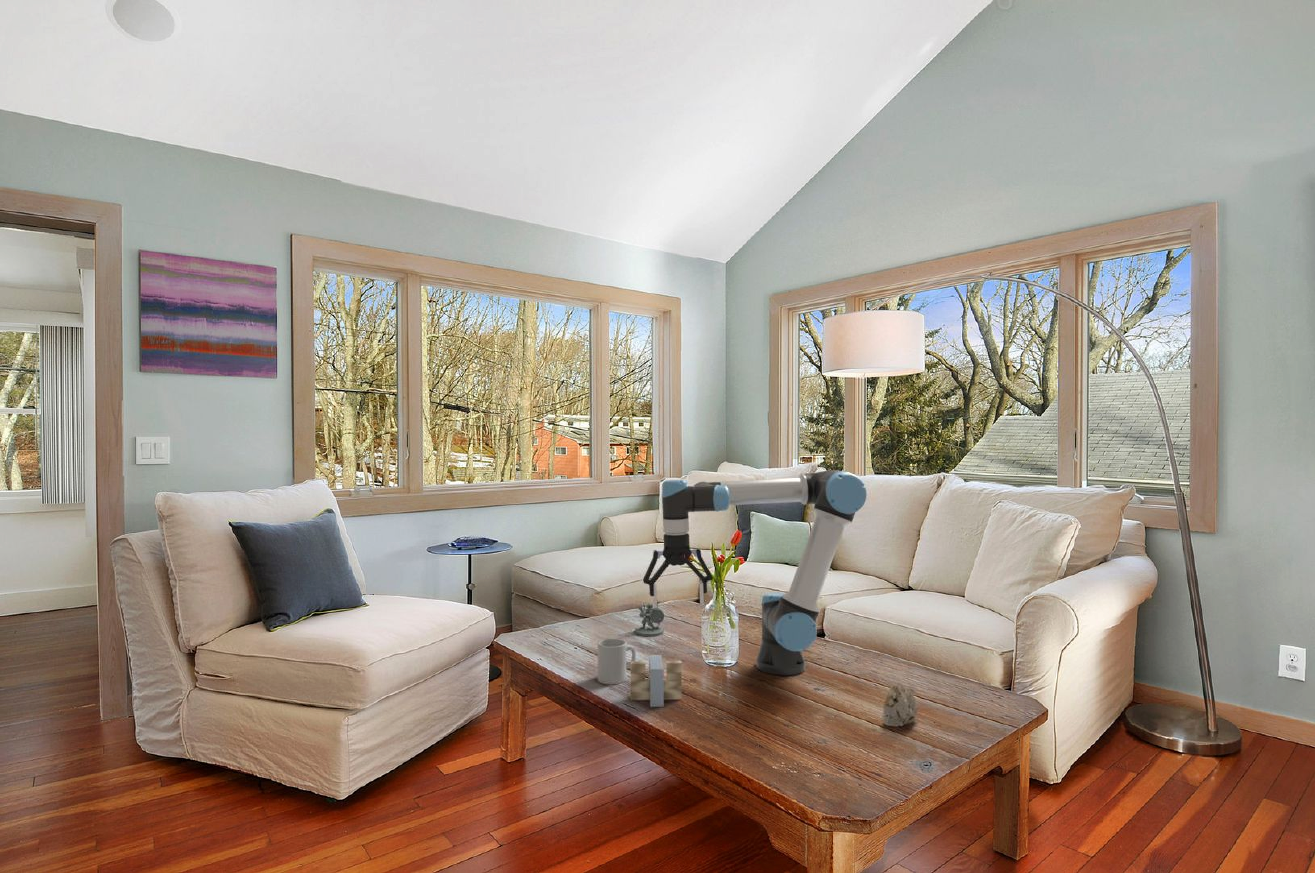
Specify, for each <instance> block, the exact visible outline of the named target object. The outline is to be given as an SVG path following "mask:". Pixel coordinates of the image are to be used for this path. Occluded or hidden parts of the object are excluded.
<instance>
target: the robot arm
mask: <svg viewBox="0 0 1315 873" xmlns="http://www.w3.org/2000/svg"><path fill="white" fill-rule="evenodd" d="M866 500H867V489H866V486H865V483H864V482H863V480H862V479H861V478H860V477H858V476H857V475H856V474H854V473H851V472H848V471H842V470H835V469H830V470H823V471H819V472H817V471H816V472H812V473H800V475H799V476H798V477H781V478H766V479H765V478H763V479H747V480H745V479H743V480H728V481H710V482H707V481H699V482H696V483H695V484H694V485H692V486H691V485H689V484H688V481H687V480H686V479H668V480H665V481H663V482H662V485H661V505H662V527H663V528H662V529H663V533H664V534H663V550H662V551H661V550H657V549H654V550H653V552H652V558H651V561H650V564H649V565H648V567H647V569H646V572H645V574H644V576H643V579H642V581H643V582H642V583H643V584H645V585H648V586H649V587H648V588H649V596H650V597H653V601H654V602H653V608H657V599H658V596H657V595H658V593H657V591H658V590H657V583H656V582H657V581H658V579H659V578H660V577H661V576H662V574H663V573H664V572H665V570H666V569H667V568H668V567H670V566H669V565H671V566H672V567H674V566H684V565H687V567H688V568H690V569H691V571H693V573H694V574H695V575H696V576H697V577H698V578H699V579H700V580H701V581H698V584H699V585H698V586H699V604H700V606H701V607H704V606H705V603H704V602H705V601H704V600H705V599H704V594H707V592H708V582H710V581H713V580H714V577H713V575H712V574H711V572H710V570H709V568H708V566H707V564H706V562H705V561H704V559H703V556H702V551H701V549H700V548H699V547H696V548H695V549H691V546H690V533H689V532H690V521H689V520H690V519H689V518H690V516H689V513H696V512H697V513H698V512H699V513H700V512H702V513H703V512H720V511H721V512H722V511H723V512H724V511H727V510H728V509H730V506H741V505H742V506H743V505H759V504H776V503H777V504H778V503H779V504H781V503H797V502H798V503H799V502H800V503H801V504H802V505H814V506H813V511H814V513H815V519H814V521H813V524H812V528H811V530H810V532H809V536H808V537H807V541H806V544H805V546H804V550H802V551H803V552H802V555H801V557H800V560H799V563H798V565H797V568H796V571H795V574H794V576H793V580H792V582H791V584H790V587H789V590H788V591H787V592H786V593H785V592H783V593H782V592H781V593H780V592H778V593H777V592H772V593H765V594H763V596H762V599H761V603H760V604H761V643H760V647H759V649H758V653H757V655H756V660H755V661H756V664H755V665H756V669H758V670H759V671H761V672H763V673H766V674H770V675H777V676H793V675H799V674H801V673H803V672H805V671H806V660H805V658H804V654H803V650H804V651H805V650H806V649H809V648H810V647H811V646H812V645H813V644H814V642H815V641H816V639H817V635H818V627H817V624H816V623H817V620H818V617H819V614H820V611H821V610H820V608H819V606H818V600H819V598H820V595H821V593H822V589H823V587H824V584H825V582H826V579H827V576H828V573H829V570H830V568H831V565H832V562H833V559H834V557H835V553H836V551H837V549H838V546H839V543H840V540H841V538H842V534H843V532H844V529H845V527H846V526H848V525H850V524H852V523H853V520H854V518H855V515H856V513H857V512H858V511H860V509H862V508H863V507H864V506H865V503H866ZM692 554H693V556H694V557H696V558H697V561H698V562H699V564H700V566H701V567H702V569H703V572H704V573H705V576H704V575H703V573H702V572H700V570H699V569H698V568H697V567H696V565H694V564H693V563H692V561H691V560H690V559H689V558H691V556H692ZM684 555H685V558H684ZM661 556H663V557H664V559H665V560H664V561H663V562H662V564H661V565H660V567H659V568H658V569H657V570H656V572H655V573H654V574H653V576H652V573H653V571H654V569H655V567H656V564H657V563H658V562H657V561H658V559H660V558H661ZM651 576H652V577H651ZM650 577H651V578H650Z"/></svg>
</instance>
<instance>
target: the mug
mask: <svg viewBox="0 0 1315 873" xmlns="http://www.w3.org/2000/svg"><path fill="white" fill-rule="evenodd" d="M628 651H630V652H631V660H630V661H629V662H627V652H628ZM636 657H637V656H636V650H635V647H634V646H633V645H631V644H627V641H625V640H624V639H619V638H605V639H601V640H599V641H598V643H597V681H598V682H599V683H601V684H604V685H618V684H622V683H624V682H625V681H626V680H627V669H629V668H630V669H631V661H636Z"/></svg>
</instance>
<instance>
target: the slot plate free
mask: <svg viewBox="0 0 1315 873" xmlns="http://www.w3.org/2000/svg"><path fill="white" fill-rule="evenodd" d="M662 656H663V655H662V654H649V655H648V664H649V665H648V679H650V700H649V704H650V705H649V706H650V708H652V707H653V708H654V707H655V708H656V707H657V708H658V707H659V708H660V707H662V708H663V707H664V705H665V704H664V703H665V702H664V701H665V700H664V679H665V678H664V677H665V676H664V674H665V672H664V664H663V663H664V662H663V658H662Z"/></svg>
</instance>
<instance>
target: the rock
mask: <svg viewBox="0 0 1315 873" xmlns="http://www.w3.org/2000/svg"><path fill="white" fill-rule="evenodd" d="M914 695H915V690H914V689H913V688H908V687H904V686H903V685H902V684H901V685H899V684H898V685H894V686H890V687H889V690H888V693H887V695H886V698H885V700H884V703H883V710H882V711H883V713H882V714H883V717H882V720H883V722H882V723H883V725H886V726H888V727H899V726H900V727H903V726H905V725H909V724H913V723H914V722H916V716H917V714H918V708H919V707H918V706H919V704H918V701H917V699H916V698H915V696H914Z"/></svg>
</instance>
